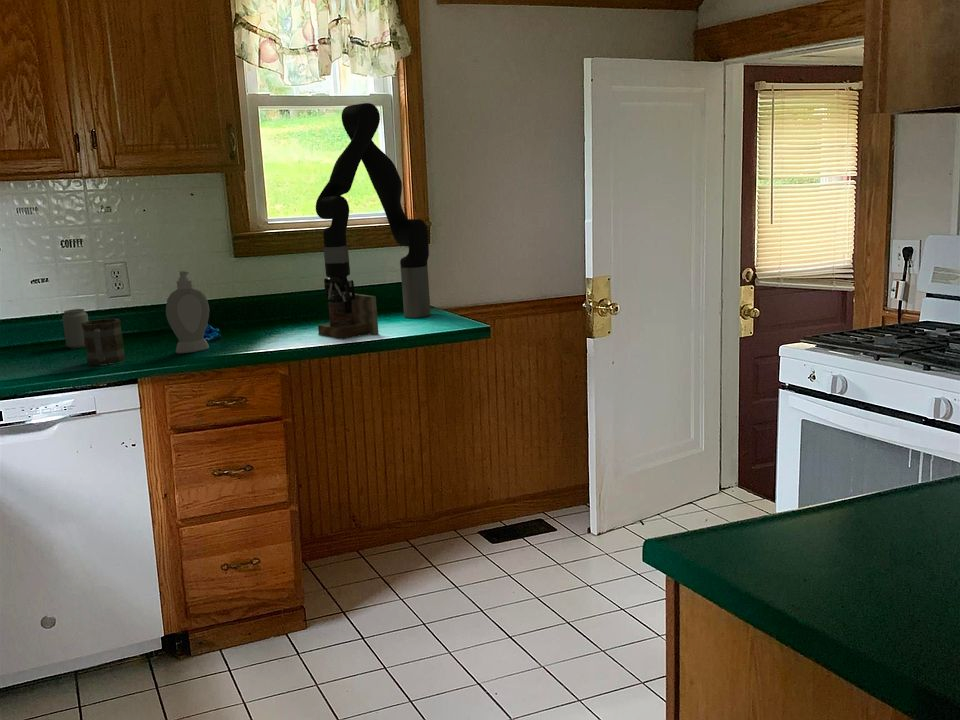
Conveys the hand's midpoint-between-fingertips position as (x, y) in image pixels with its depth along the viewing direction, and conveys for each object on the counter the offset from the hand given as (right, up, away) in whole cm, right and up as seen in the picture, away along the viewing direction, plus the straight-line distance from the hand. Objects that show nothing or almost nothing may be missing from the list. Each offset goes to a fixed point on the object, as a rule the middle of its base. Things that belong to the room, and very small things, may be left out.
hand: (341, 312), depth 294 cm
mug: (-65, -16, -24) cm, 71 cm away
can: (-85, -11, +6) cm, 86 cm away
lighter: (0, -4, +1) cm, 4 cm away
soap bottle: (-43, -13, -13) cm, 46 cm away
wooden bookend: (+1, -7, +2) cm, 7 cm away
